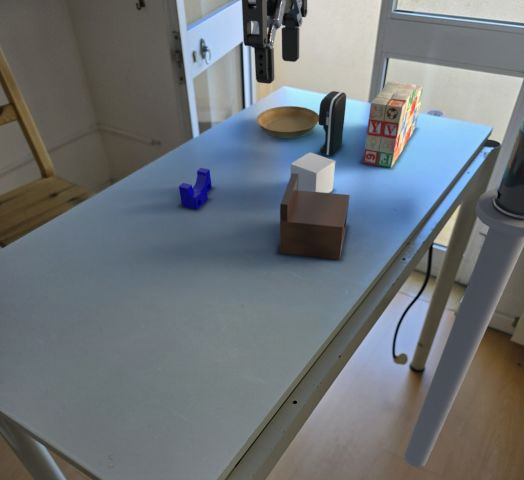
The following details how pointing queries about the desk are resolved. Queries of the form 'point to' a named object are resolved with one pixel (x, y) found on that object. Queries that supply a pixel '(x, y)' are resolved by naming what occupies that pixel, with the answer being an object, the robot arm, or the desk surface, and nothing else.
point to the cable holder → (196, 190)
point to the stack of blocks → (391, 122)
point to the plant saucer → (288, 121)
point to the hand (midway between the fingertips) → (278, 70)
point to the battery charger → (332, 120)
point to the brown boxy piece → (312, 222)
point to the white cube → (314, 173)
